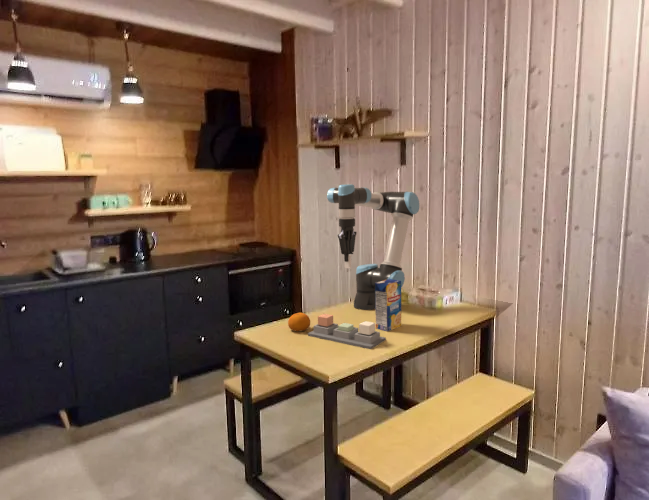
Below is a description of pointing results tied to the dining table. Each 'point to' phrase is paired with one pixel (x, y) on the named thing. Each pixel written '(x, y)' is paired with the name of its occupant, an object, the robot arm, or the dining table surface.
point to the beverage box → (388, 304)
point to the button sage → (346, 327)
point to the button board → (347, 336)
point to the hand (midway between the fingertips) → (348, 267)
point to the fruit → (299, 322)
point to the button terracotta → (325, 320)
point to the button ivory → (366, 328)
